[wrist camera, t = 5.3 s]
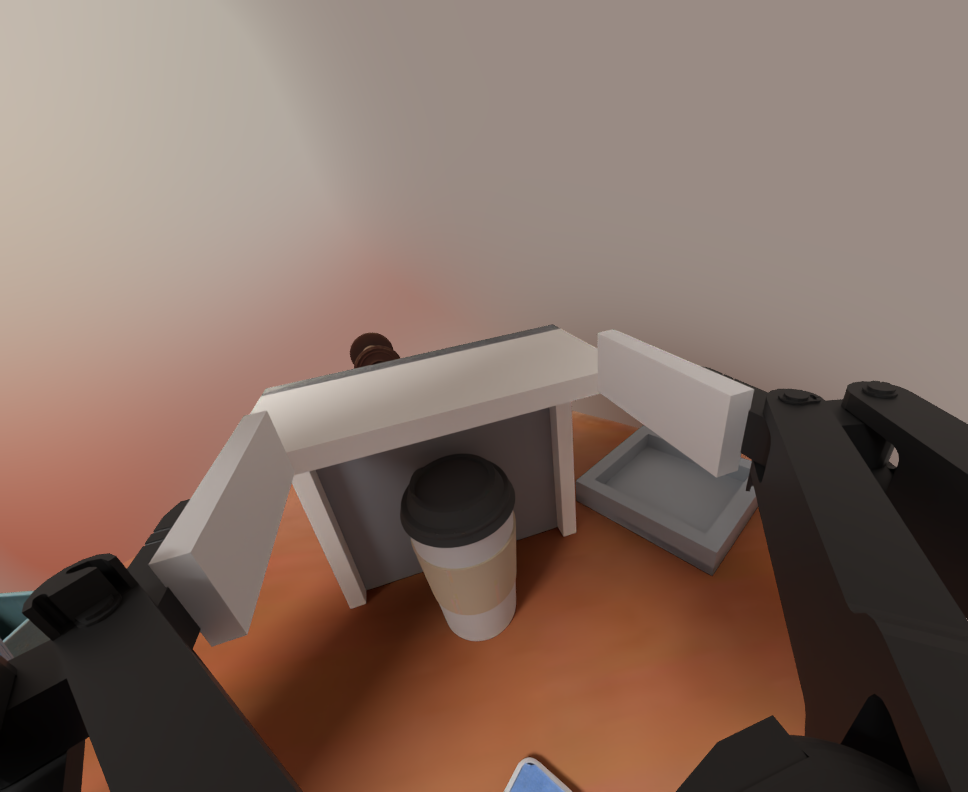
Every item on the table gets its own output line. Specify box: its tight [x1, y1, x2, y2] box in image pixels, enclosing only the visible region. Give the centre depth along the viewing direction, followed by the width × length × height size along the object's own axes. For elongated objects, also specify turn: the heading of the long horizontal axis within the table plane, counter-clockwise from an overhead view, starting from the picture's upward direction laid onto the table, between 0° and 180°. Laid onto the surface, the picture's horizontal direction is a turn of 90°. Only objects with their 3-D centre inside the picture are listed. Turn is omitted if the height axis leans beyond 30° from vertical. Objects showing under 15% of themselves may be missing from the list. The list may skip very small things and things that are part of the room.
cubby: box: [251, 325, 601, 609], centre depth 31 cm, size 24×11×22 cm, turn 106°
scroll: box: [350, 333, 401, 369], centre depth 51 cm, size 15×15×20 cm
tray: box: [576, 425, 758, 576], centre depth 43 cm, size 15×15×3 cm
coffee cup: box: [400, 454, 516, 641], centre depth 32 cm, size 9×9×15 cm
